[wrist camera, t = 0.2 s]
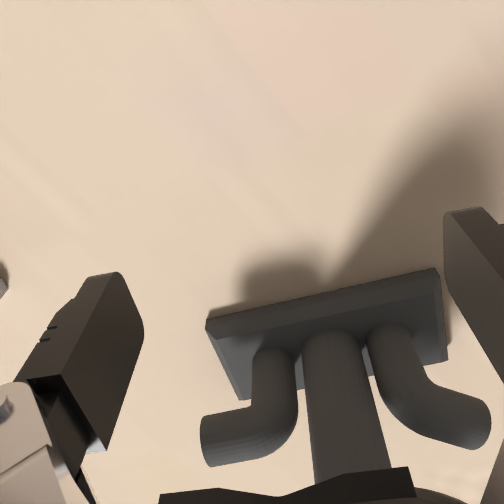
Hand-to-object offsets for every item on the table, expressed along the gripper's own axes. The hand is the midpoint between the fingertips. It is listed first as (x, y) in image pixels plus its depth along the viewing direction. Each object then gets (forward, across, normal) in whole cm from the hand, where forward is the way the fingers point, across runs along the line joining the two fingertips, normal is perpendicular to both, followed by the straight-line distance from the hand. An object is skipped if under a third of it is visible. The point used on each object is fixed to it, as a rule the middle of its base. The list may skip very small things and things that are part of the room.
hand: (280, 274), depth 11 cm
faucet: (+18, -1, +22) cm, 29 cm away
